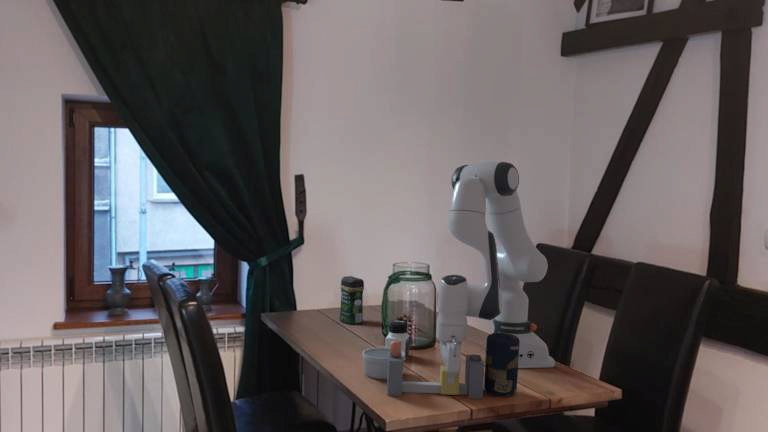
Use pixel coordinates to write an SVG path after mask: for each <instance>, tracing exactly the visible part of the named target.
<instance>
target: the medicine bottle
mask: <svg viewBox="0 0 768 432" xmlns="http://www.w3.org/2000/svg"><path fill="white" fill-rule="evenodd" d="M410 338H411V336H410V334H408V324H407V322H405V321H401V320H393V321H391V322H389V325H388V335H387V336H386V337H385V344H384V348H390V347H391V341H393V340H398V341H401V342H402V349H401V351H403V352H404V353H405V359H404V361H406V360H407V358H408V357H409V355H410Z"/></svg>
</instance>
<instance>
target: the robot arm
mask: <svg viewBox="0 0 768 432" xmlns="http://www.w3.org/2000/svg"><path fill="white" fill-rule="evenodd" d="M518 171H519V170H518V169H517V167H516V166H515V165H514V164H513V163H511V162H507V161H500V162H496V161H495V162H494V161H493V162H491V161H490V162H489V161H487V162H486V161H485V162H481V163H474V164H464V165H461V166H459V167H457V168H455V170H454V171H453V172H452V173H453V174H452V176H451V187H452V189H453V191H452V194H451V199H450V204H449V211H448V228H449V229H448V230H449V232H450V233H451V235H452V236H453V237H454V238H455V239H456V240H458V241H459V242H461V243H463V244H464V245H466V246H469V247H471V248H473V249H475V250H476V251H478V252H479V253H480V254H481V255H482V256H481V262H482V263H481V264H482V267H483V270H484V281H485V283H484V284H474V283H473V284H472V283H468V279H467V278H466V276H463V275H459V274H449V275H445V276H442V277H441V280H440V283H439V287H438V292H437V299H436V306H437V312H438V314H437V318H436V329H435V338H436V339H438V340H439V350H440V355H441V357H442V360H443V364H444V365H445V366H446V369H447V372H448V377H447V381H448V383H449V384H453V383H454V377H455V373H460V374H461V371H462V370H461V366H462V350H461V349H462V348H461V347H462V345H463V342H464V341H466V340H467V337H468V335H467V334H468V318H470V317H471V318H477V319H481V320H488V321H492V326H491V334H493V333H499V332H503V333H506V334H511V335H515V336H517V337H518V338H519V341H520V344H519V358H518V369H534V368H535V369H537V368H539V369H541V368H554V367H556V360H555V359H554V358H553V357H552V356H550V355H549V354H550V353H549V348H548V345H547V344H546V343H545V341H543V340H542V339H541V338H540V337H539V336H538V335H537V334H536V333H534V332H533V331H536V330H537V328H538V326H537V325H536V323H533V322H532V321H530V320H528V317H529V316H528V315H529V297H528V295H527V294H526V292H525V291H524V289H523V288H522V286H521V283H520V282H523V283H537V282H540V281H542V280H543V279H544V277H545V276H546V274H547V271H548V267H549V266H548V260H547V258H546V256H545V255H544V254H542V253H541V252H540V250H539V249H538V248H537V247H536V245H535V244H534V243H533V241H532V239H531V237H530V236H529V233H528V231H527V229H526V225H525V221H524V216H523V212H522V205H521V201H520V198H519V193H518V189H517V188H518V187H519V183H520V176H519V175H520V174H519V172H518ZM486 213H487V218H488V221H489V227H490V230H489V228H488V227H487V223H486ZM496 240H497V241H498V243H499V244H496V243H497V242H496ZM467 317H468V318H467Z"/></svg>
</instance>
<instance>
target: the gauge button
mask: <svg viewBox="0 0 768 432" xmlns="http://www.w3.org/2000/svg"><path fill="white" fill-rule="evenodd" d="M401 349H402V342H401V341H398V340H393V341H391V347H390V356H392V357H400V356H401Z"/></svg>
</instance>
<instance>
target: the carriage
mask: <svg viewBox="0 0 768 432" xmlns="http://www.w3.org/2000/svg"><path fill="white" fill-rule="evenodd" d="M439 367H440V368H439V369H440V370H439V383H441V393H440V394H441V395H454V396H455V395H457V396H458V395H460V394H459V383H460V375H461V372H460V373H455V377H454V383H453V384H449V383H448V381H447V377H448V372H447V369H446V366H445V365H443V364H442V365H440V366H439Z"/></svg>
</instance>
